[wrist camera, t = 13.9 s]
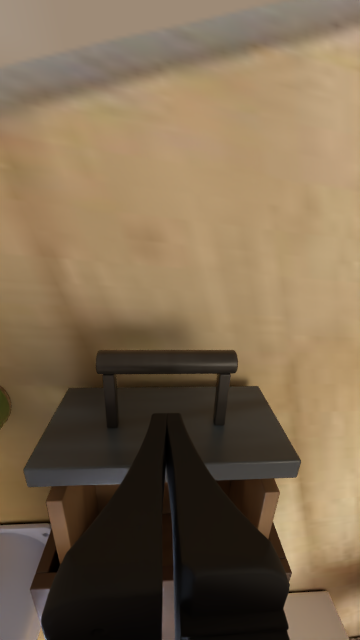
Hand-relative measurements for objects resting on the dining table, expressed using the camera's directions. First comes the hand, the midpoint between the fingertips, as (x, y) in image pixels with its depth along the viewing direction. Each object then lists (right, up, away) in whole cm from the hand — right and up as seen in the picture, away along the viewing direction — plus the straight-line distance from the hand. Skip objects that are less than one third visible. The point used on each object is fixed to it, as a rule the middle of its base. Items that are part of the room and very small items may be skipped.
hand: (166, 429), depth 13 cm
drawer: (0, -3, +7) cm, 7 cm away
